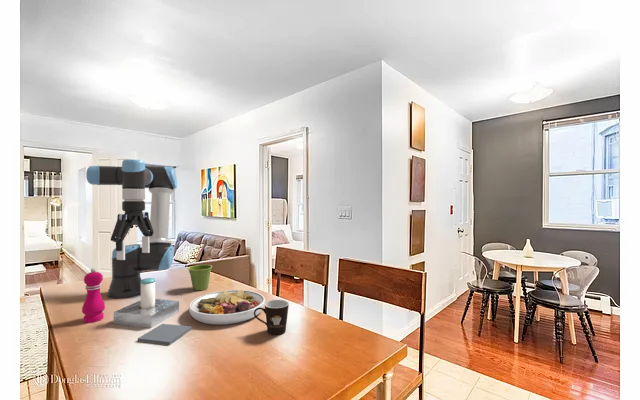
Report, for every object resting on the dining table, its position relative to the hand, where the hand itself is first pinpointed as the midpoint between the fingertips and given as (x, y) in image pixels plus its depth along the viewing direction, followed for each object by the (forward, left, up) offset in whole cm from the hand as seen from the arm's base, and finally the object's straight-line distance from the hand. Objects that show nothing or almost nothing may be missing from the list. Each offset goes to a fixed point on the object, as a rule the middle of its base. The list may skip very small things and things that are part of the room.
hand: (134, 256), depth 120 cm
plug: (-4, +3, -25) cm, 25 cm away
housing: (-4, +3, -25) cm, 25 cm away
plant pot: (-42, +2, -25) cm, 49 cm away
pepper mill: (+2, -16, -25) cm, 30 cm away
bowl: (-16, +31, -26) cm, 43 cm away
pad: (+8, +20, -25) cm, 33 cm away
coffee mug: (-3, +55, -25) cm, 60 cm away
